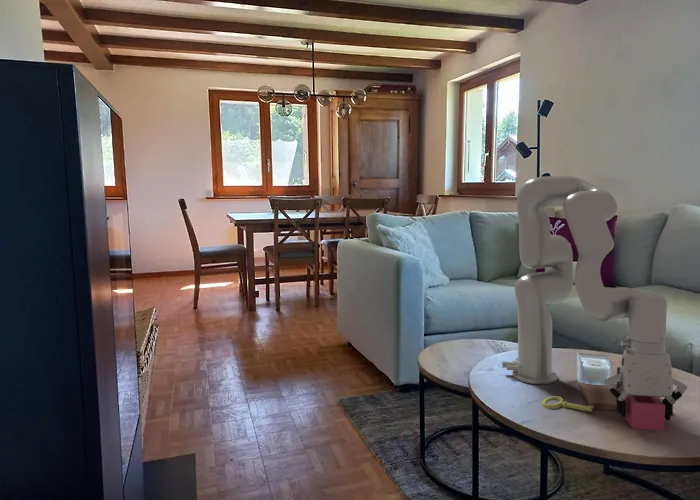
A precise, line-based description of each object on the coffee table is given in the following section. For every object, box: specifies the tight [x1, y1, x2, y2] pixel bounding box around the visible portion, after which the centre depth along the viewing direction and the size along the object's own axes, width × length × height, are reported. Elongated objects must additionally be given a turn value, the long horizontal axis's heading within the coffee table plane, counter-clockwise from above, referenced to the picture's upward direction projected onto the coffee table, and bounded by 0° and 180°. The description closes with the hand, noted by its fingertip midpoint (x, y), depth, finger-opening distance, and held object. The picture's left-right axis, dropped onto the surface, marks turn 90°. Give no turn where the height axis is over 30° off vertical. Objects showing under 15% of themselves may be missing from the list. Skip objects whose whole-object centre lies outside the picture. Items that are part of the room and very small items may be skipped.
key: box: [541, 395, 594, 413], centre depth 124 cm, size 7×12×2 cm, turn 65°
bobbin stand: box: [578, 366, 663, 411], centre depth 126 cm, size 18×14×8 cm
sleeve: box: [624, 395, 666, 432], centre depth 113 cm, size 7×7×6 cm
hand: (643, 416), depth 113 cm, fingers open, 9 cm apart
